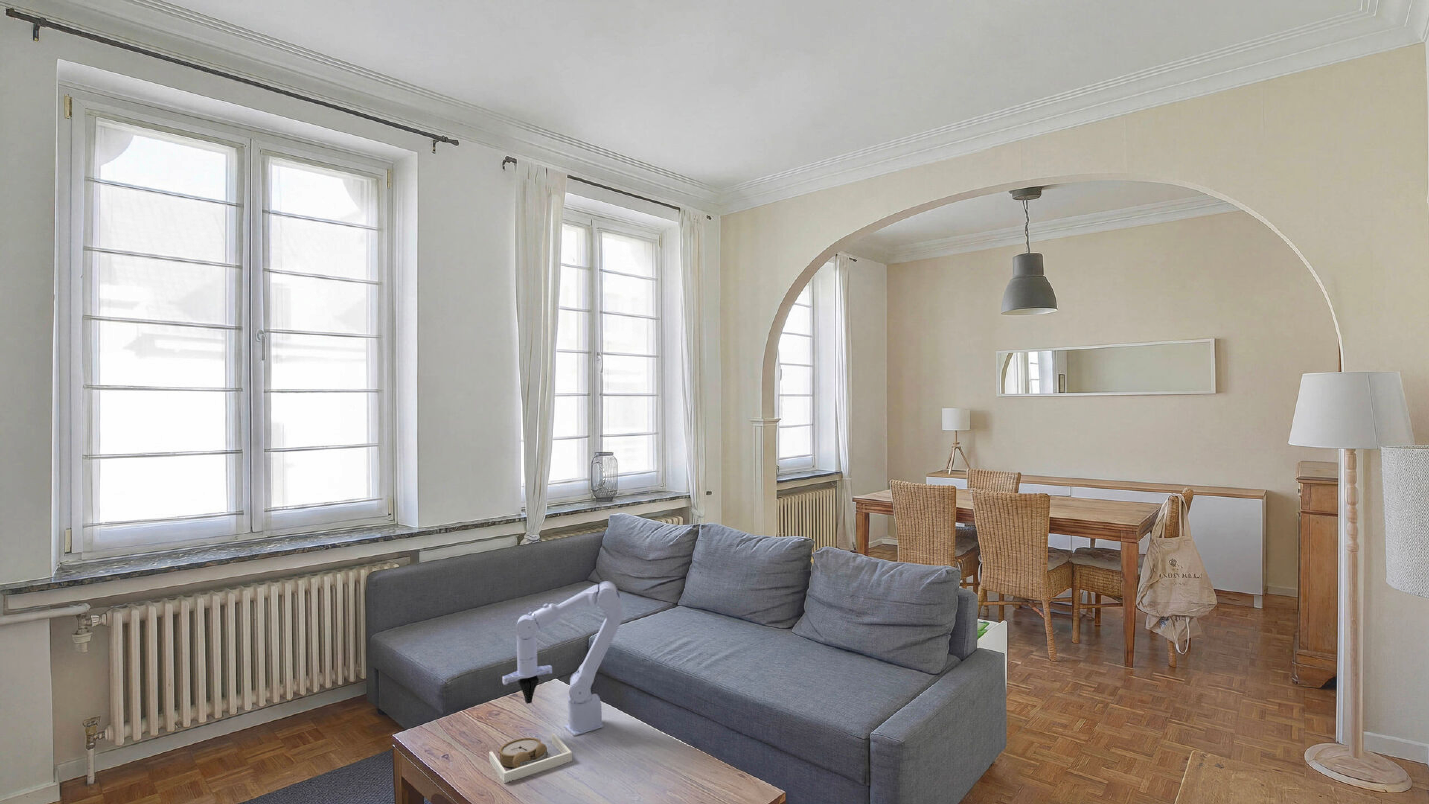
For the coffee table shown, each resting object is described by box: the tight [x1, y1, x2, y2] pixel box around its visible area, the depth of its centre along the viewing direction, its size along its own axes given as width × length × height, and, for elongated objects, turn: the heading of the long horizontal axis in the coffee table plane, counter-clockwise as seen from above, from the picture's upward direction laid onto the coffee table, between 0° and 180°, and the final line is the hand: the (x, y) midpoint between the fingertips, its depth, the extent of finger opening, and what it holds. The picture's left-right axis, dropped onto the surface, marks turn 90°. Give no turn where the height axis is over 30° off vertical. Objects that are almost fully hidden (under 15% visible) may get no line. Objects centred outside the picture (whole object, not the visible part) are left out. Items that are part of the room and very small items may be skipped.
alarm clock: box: [497, 737, 549, 769], centre depth 192 cm, size 11×5×15 cm
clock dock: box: [488, 732, 573, 784], centre depth 191 cm, size 19×14×2 cm
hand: (528, 702), depth 207 cm, fingers closed
